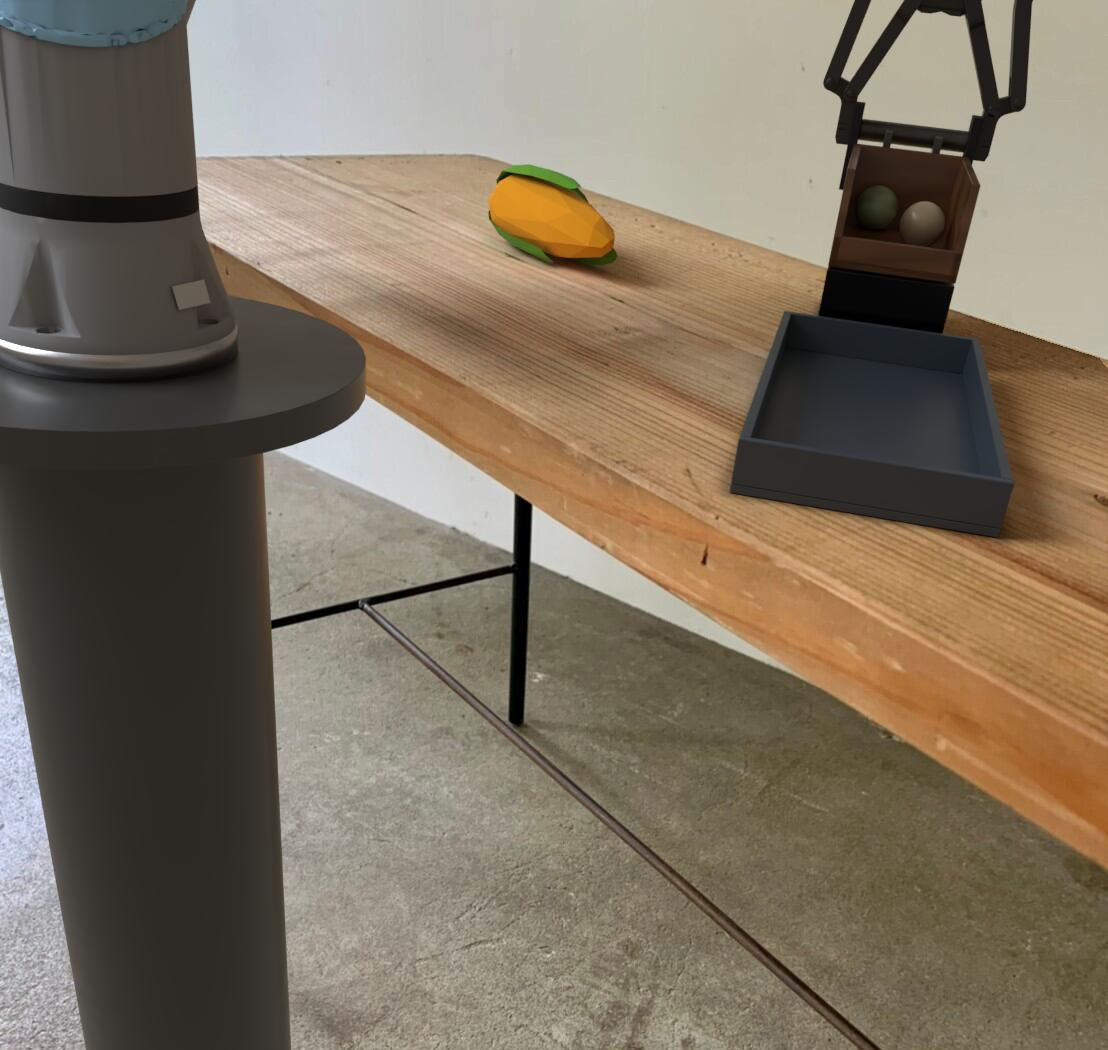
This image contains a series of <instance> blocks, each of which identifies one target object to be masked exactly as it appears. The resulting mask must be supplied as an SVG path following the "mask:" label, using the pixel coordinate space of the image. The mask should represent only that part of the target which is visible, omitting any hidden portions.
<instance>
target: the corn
mask: <svg viewBox="0 0 1108 1050" xmlns="http://www.w3.org/2000/svg"><path fill="white" fill-rule="evenodd" d="M580 189H582V186H581V184H580V183H579V182H578V181H577V180H576V179H575V178H573V177H570V176H568V175H566V174H564V173H562V172H559V171H555V170H552V169H550V168H546V167H541V166H537V165H533V164H529V163H528V164H515V165H512V166H510V167H508V168H506V169H503V170H502V171H501V172H500V173H499V175H498V177H497V178H496V186H495V188H494V189H493V191H492V193H491V194H490V195H489V197H488V206H489V210H487V211H488V220H489V221H490V223H491V224H492V226H493V228H494V229H495V231H496V233H497V234H498V235H499V236H500V237H502V239H504V240H505V241H506V242H507V243H508V244H510V245H511V246H514V247H516V248H517V249H520V250H521V251H524V252H526V253H528V254H530V255H532V256H534V257H536V258H538V259H540V260H542V261H543V262H547V263H554V261H553V260H552V259H550V258H549V256H547V255H550V256H553V257H557V258H565V259H567V260H570V261H575V262H577V263H578V262H579V263H582V264H584V265H585V264H586V265H589V266H605V265H606V266H607V265H610V264H614V263H615V262H616V261H617V259H618V254H617V251H616V249H615V248H614V246H615V239H616V236H615V230H614V228H613V227H612V225H610V224H609V223H608V221H607V220H606V219H605V218H604V217H603V216H602V215H601V214H600V212H599V211H597V209H596V208H595V207H594V206H593V205H592V203H590V202H589V200H588V198H587V197H586V195H585V194H584V192H583V191H582V190H580Z"/></svg>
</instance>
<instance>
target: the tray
mask: <svg viewBox="0 0 1108 1050" xmlns="http://www.w3.org/2000/svg"><path fill="white" fill-rule="evenodd" d="M767 355H768V356H767V358H766V361H765V363H764V366H763V369H762V371H761V375H760V377H759V381H758V383H757V386H756V388H755V392H754V395H753V397H752V400H751V403H750V406H749V409H748V411H747V414H746V417H745V420H744V423H743V425H742V429H741V431H740V434H739V437H738V440H737V445H736V451H735V457H734V463H733V468H732V469H733V470H732V474H731V480H730V486H729V494H730V493H731V494H736V495H743V496H748V497H753V498H760V499H766V500H772V501H777V502H785V503H790V504H795V505H801V506H809V507H814V508H820V509H827V510H830V511H837V512H844V513H849V514H856V515H862V516H868V517H874V518H878V519H885V520H890V521H896V522H902V523H903V522H904V523H907V524H914V525H921V526H926V527H931V528H938V529H944V530H950V531H957V532H963V533H967V534H974V535H980V536H985V537H992V538H998V537H999V535H1000V532H1001V528H1002V525H1003V522H1004V519H1005V516H1006V513H1007V509H1008V505H1009V503H1010V499H1011V497H1012V493H1013V490H1014V486H1015V482H1014V477H1013V473H1012V469H1011V465H1010V461H1009V457H1008V453H1007V449H1006V445H1005V440H1004V436H1003V432H1002V427H1001V423H1000V419H999V414H998V411H997V407H996V401H995V398H994V394H993V391H992V386H991V382H990V378H989V374H988V369H987V365H986V360H985V357H984V353H983V347H982V345H981V339H980V338H975V337H969V336H961V335H954V334H948V333H943V334H941V333H935V332H928V331H921V330H914V329H907V328H900V327H893V326H886V325H879V324H872V323H865V322H858V321H851V320H844V319H837V318H831V317H824V316H818V315H815V314H808V313H802V312H797V311H796V312H795V311H788V310H784V311H783V313H782V316H781V319H780V321H779V324H778V327H777V330H776V333H775V336H774V339H773V341H772V344H771V346H770V350H769V353H768V354H767Z"/></svg>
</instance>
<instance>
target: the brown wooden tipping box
mask: <svg viewBox="0 0 1108 1050" xmlns="http://www.w3.org/2000/svg"><path fill="white" fill-rule="evenodd" d="M968 138H969V130H960V129H954V128H953V129H951V128H945V127H944V128H943V127H936V126H935V127H934V126H928V125H927V126H926V125H920V124H919V125H918V124H911V123H910V124H909V123H902V122H892V121H885V120H877V119H867V118H862V122H861V127H860V132H859V137H858V141H864V142H872V143H879V144H882V146H880V145H871V144H863V143H857V144H856V143H855V144H854V147H853V151H852V154H851V158H850V161H849V165H848V168H847V173H846V178H845V183H844V188H843V190H842V193H841V199H840V203H839V209H838V213H837V218H836V224H835V228H834V234H833V239H832V242H831V243H832V244H831V248H830V254H829V258H828V259H829V260H828V265H827V267H828V266H830V267H838V268H845V269H852V270H859V271H867V272H874V273H881V274H889V275H896V276H903V277H910V278H918V279H925V280H932V281H939V282H947V283H954V285H955V284H956V283H957V279H958V275H959V272H960V268H961V265H962V260H963V256H964V252H965V248H966V244H967V241H968V236H969V233H970V229H971V225H972V220H973V217H974V212H975V208H976V206H977V205H976V204H977V202H978V197H979V195H980V190H981V183H980V180H979V178H978V177H977V174H976V172H975V170H974V167H973V164H972V165H971V162H970V160H969V158H968V157H963V156H962V155H953V154H945V153H941V151H947V152H952V153H953V152H954V153H962V154H963V153H964V152H965V150H966V146H967V142H968ZM891 145H896V146H905V147H913V148H920V149H929V150H930V152H929V151H921V150H913V149H905V148H897V147H891ZM876 185H882V186H886V187H888V188H889V189H891V190H892V191H893V192H894V194H895V195H896V198H897V201H898V210H897V214H896V216H895V218H894V220H893V221H892V222H891V223H890V224H889V225H888V226H887V227H885V228H883V229H880V230H869V229H866V228H864V227H863V226H862V225H861V224H860V223H859V222H858V220H857V218H856V214H855V207H856V202H857V200H858V198H859V196H860V195H861V194H862V193H863V192H864V191H865V190H866V189H867V188H869V187H872V186H876ZM922 201H928V202H932V203H934V204H936V205H937V206H938V207H939V208H940V209H941V210H942V212H943V214H944V217H945V227H944V231H943V233H942V235H941V237H940V238H939V240H938V241H937V242H936V243H934V244H933V245H931V246H930V247H922V246H915V245H907V244H906V243H905V242H904V241H903V239H902V237H901V235H900V230H899V226H900V220H901V218H902V215H903V214H904V212H905V211H906V210H907V209H908V208H909V207H910V206H912V205H913V204H915V203H918V202H922Z"/></svg>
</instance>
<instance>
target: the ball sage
mask: <svg viewBox="0 0 1108 1050" xmlns="http://www.w3.org/2000/svg"><path fill="white" fill-rule="evenodd" d="M897 210H898V201H897V198H896V195H895V194H894V192H893V191H892V190H891V189H889V188H888V187H886V186H882V185H876V186H872V187H869V188H867V189H866V190H865V191H864V192H863V193H862V194H861V195H860V196H859V198H858V200H857V202H856V207H855V214H856V218H857V220H858V222H859V223H860V224H861V225H862V226H863V227H864V228H866V229H869V230H880V229H883V228H885V227H887V226H888V225H889V224H890V223H891V222H892V221H893V220H894V218H895V216H896V214H897Z"/></svg>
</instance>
